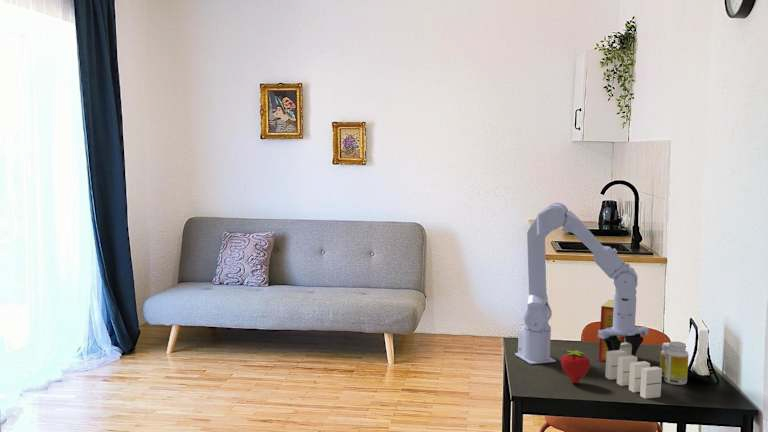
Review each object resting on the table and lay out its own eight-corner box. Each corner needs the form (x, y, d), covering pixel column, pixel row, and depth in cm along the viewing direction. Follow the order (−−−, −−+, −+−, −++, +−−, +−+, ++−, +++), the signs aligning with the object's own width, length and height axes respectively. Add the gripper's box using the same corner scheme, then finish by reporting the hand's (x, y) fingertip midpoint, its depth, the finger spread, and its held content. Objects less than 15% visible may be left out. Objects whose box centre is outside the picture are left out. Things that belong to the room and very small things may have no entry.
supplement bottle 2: (691, 384, 198) (694, 345, 196) (675, 387, 195) (678, 347, 194) (674, 377, 203) (677, 339, 201) (659, 380, 200) (661, 341, 199)
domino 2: (616, 383, 197) (617, 356, 197) (631, 381, 199) (632, 355, 198) (621, 385, 195) (622, 359, 195) (636, 384, 197) (637, 357, 196)
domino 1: (605, 377, 202) (606, 351, 201) (619, 375, 203) (620, 349, 203) (609, 379, 200) (611, 353, 199) (624, 378, 202) (625, 352, 201)
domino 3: (628, 389, 193) (630, 362, 192) (643, 388, 194) (645, 361, 193) (633, 392, 191) (635, 364, 190) (648, 390, 192) (650, 363, 191)
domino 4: (640, 395, 188) (641, 368, 188) (655, 394, 190) (656, 366, 189) (645, 398, 187) (646, 370, 186) (660, 396, 188) (662, 368, 187)
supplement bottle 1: (679, 379, 201) (681, 347, 200) (660, 377, 202) (662, 346, 201) (676, 373, 206) (678, 342, 205) (658, 371, 207) (659, 341, 206)
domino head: (612, 368, 209) (613, 343, 208) (626, 367, 211) (627, 342, 210) (616, 371, 207) (618, 345, 206) (630, 369, 209) (632, 344, 208)
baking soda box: (606, 352, 224) (608, 298, 222) (629, 355, 221) (632, 301, 219) (598, 361, 216) (601, 304, 214) (622, 364, 213) (625, 307, 211)
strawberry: (583, 389, 192) (585, 350, 191) (555, 383, 197) (557, 344, 196) (593, 383, 197) (595, 345, 196) (565, 377, 201) (567, 339, 200)
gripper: (610, 318, 201) (607, 369, 203) (656, 314, 206) (653, 364, 207) (594, 312, 208) (592, 361, 209) (640, 308, 212) (637, 356, 214)
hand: (621, 362), depth 209 cm, fingers closed on domino head, 4 cm apart
